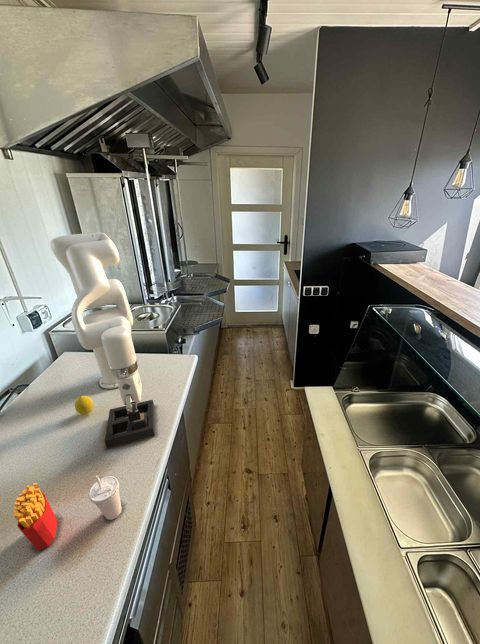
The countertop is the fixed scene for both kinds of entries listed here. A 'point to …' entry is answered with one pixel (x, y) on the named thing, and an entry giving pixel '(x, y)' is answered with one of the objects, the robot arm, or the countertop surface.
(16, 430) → the countertop surface
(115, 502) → the smoothie
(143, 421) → the connector plug
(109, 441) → the socket pad
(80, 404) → the lemon
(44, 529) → the french fries
